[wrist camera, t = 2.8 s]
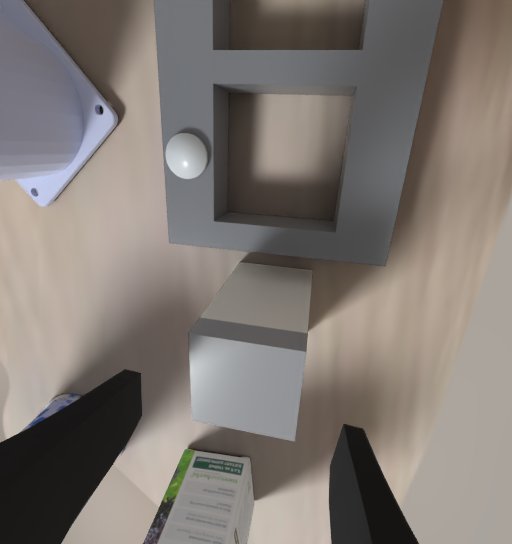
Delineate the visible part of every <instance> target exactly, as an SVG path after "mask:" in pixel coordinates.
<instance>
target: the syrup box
mask: <svg viewBox="0 0 512 544" xmlns="http://www.w3.org/2000/svg"><path fill="white" fill-rule="evenodd" d="M253 509H254V495H253V484H252V474H251V462H250V458H249V457H244V456H243V457H234V456H228V455H222V454H215V453H208V452H201V451H195V450H192V449H186V450H185V451H184V453H183V455H182V457H181V459H180V462H179V464H178V466H177V468H176V471H175V473H174V475H173V477H172V480H171V482H170V484H169V487H168V489H167V491H166V493H165V496H164V498H163V500H162V502H161V505H160V507H159V509H158V512H157V514H156V516H155V518H154V521H153V523H152V525H151V527H150V529H149V532H148V534H147V537H146V539H145V541H144V543H143V544H247V541H248V536H249V530H250V525H251V519H252V514H253Z"/></svg>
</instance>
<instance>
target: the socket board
mask: <svg viewBox="0 0 512 544" xmlns="http://www.w3.org/2000/svg"><path fill="white" fill-rule="evenodd" d="M443 1H444V0H366V1H365V8H364V15H363V22H362V29H361V36H360V43H359V50H229V44H230V0H154V12H155V28H156V44H157V60H158V76H159V92H160V108H161V123H162V139H163V155H164V171H165V187H166V203H167V219H168V235H169V243H172V244H182V245H191V246H200V247H210V248H219V249H229V250H238V251H247V252H257V253H266V254H275V255H285V256H294V257H303V258H313V259H322V260H331V261H341V262H350V263H359V264H369V265H378V266H386V261H387V257H388V252H389V247H390V243H391V238H392V234H393V229H394V225H395V220H396V215H397V211H398V206H399V202H400V197H401V193H402V188H403V183H404V179H405V174H406V170H407V165H408V161H409V156H410V151H411V147H412V142H413V138H414V133H415V129H416V124H417V119H418V115H419V110H420V106H421V101H422V97H423V92H424V88H425V83H426V78H427V74H428V69H429V65H430V60H431V56H432V51H433V46H434V42H435V37H436V33H437V28H438V24H439V19H440V14H441V10H442V5H443ZM229 93H253V94H298V95H343V96H352V99H351V106H350V113H349V120H348V127H347V134H346V141H345V148H344V155H343V162H342V169H341V176H340V183H339V189H338V196H337V203H336V210H335V217H334V221H325V220H314V219H302V218H291V217H279V216H268V215H256V214H244V213H233V212H228V134H229Z"/></svg>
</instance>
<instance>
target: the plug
mask: <svg viewBox="0 0 512 544" xmlns="http://www.w3.org/2000/svg"><path fill="white" fill-rule="evenodd" d="M312 274H313V270H305V269H296V268H288V267H279V266H270V265H261V264H252V263H243V262H240V263H239V264H238V265H237V267H236V268H235V270H234V271H233V272H232V274H231V275H230V276H229V278H228V279H227V281H226V282H225V283H224V285H223V286H222V288H221V289H220V290H219V292H218V293H217V294H216V296H215V297H214V299H213V300H212V301H211V303H210V304H209V305H208V307H207V308H206V310H205V311H204V312H203V314H202V315H201V317H200V318H199V319H198V321H197V322H196V323H195V325H194V326H193V328H192V329H191V330H190V332H189V333H188V339H189V362H190V385H191V408H192V421H197V422H202V423H206V424H211V425H216V426H221V427H226V428H231V429H236V430H241V431H245V432H250V433H255V434H260V435H265V436H270V437H275V438H280V439H284V440H289V441H294V442H295V435H296V428H297V420H298V412H299V404H300V397H301V389H302V381H303V374H304V366H305V358H306V350H307V337H308V324H309V312H310V299H311V286H312Z"/></svg>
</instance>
